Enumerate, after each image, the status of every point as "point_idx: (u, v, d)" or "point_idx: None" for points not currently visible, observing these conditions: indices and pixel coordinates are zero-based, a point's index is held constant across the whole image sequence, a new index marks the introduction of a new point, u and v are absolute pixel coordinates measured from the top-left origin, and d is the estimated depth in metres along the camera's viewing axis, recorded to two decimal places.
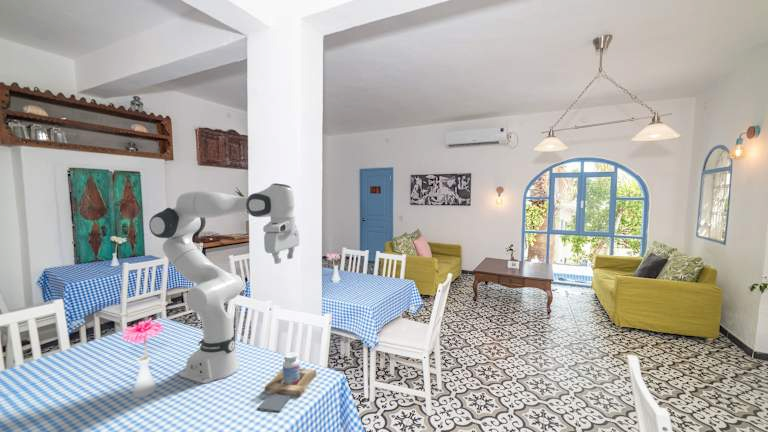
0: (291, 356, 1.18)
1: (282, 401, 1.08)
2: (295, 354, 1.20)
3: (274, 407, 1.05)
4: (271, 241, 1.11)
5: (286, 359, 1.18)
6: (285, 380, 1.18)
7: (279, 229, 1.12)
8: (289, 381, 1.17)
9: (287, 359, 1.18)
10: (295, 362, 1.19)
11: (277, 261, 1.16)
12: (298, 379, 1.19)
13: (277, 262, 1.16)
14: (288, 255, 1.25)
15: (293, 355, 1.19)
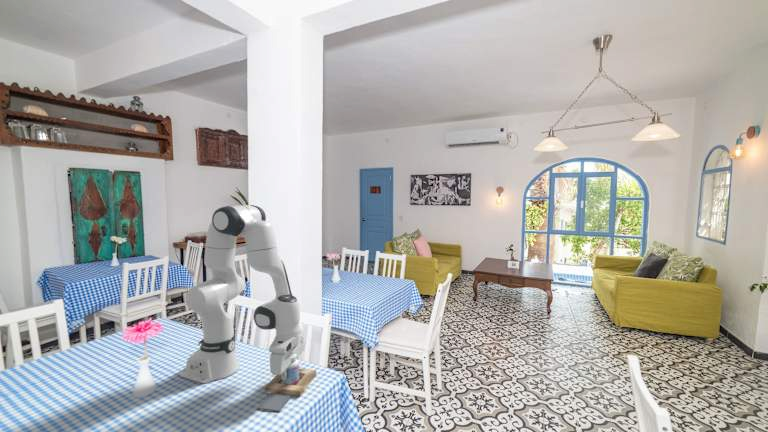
0: None
1: (282, 401, 1.08)
2: (294, 355, 1.19)
3: (274, 407, 1.05)
4: (277, 363, 1.09)
5: None
6: (284, 381, 1.17)
7: (285, 350, 1.11)
8: (288, 381, 1.17)
9: None
10: (294, 363, 1.18)
11: (285, 378, 1.15)
12: (297, 380, 1.19)
13: (284, 378, 1.15)
14: None
15: None
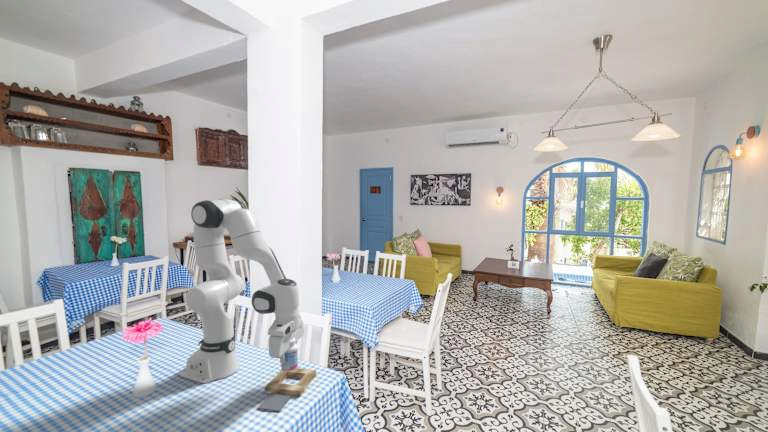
0: None
1: (282, 401, 1.08)
2: (293, 339, 1.19)
3: (274, 407, 1.05)
4: (275, 346, 1.09)
5: None
6: (283, 365, 1.17)
7: (284, 333, 1.10)
8: (287, 365, 1.16)
9: None
10: (293, 347, 1.18)
11: (283, 361, 1.15)
12: (296, 364, 1.19)
13: (283, 362, 1.15)
14: None
15: None
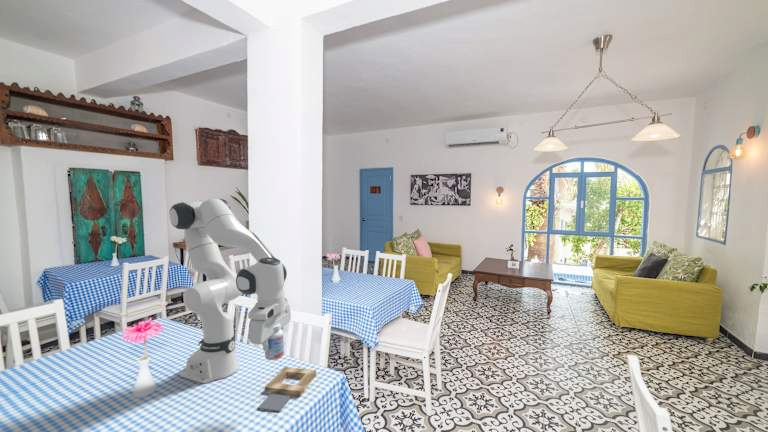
0: None
1: (282, 401, 1.08)
2: (278, 324, 1.07)
3: (274, 407, 1.05)
4: (256, 331, 0.97)
5: None
6: (267, 352, 1.05)
7: (266, 316, 0.98)
8: (271, 353, 1.04)
9: None
10: (278, 333, 1.06)
11: (266, 349, 1.03)
12: (282, 352, 1.07)
13: (266, 349, 1.03)
14: None
15: (276, 325, 1.06)
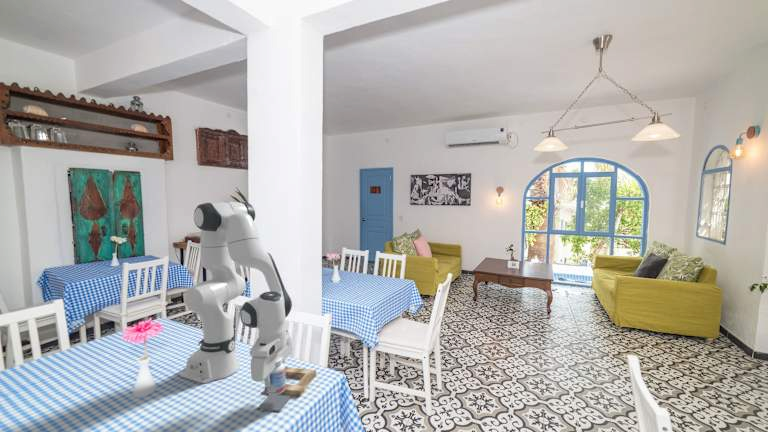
0: None
1: (282, 401, 1.08)
2: (280, 358, 1.08)
3: (274, 407, 1.05)
4: (258, 368, 0.98)
5: None
6: (269, 387, 1.05)
7: (268, 354, 0.99)
8: (273, 388, 1.05)
9: None
10: (280, 367, 1.06)
11: (268, 384, 1.03)
12: (283, 386, 1.07)
13: (268, 385, 1.04)
14: None
15: None
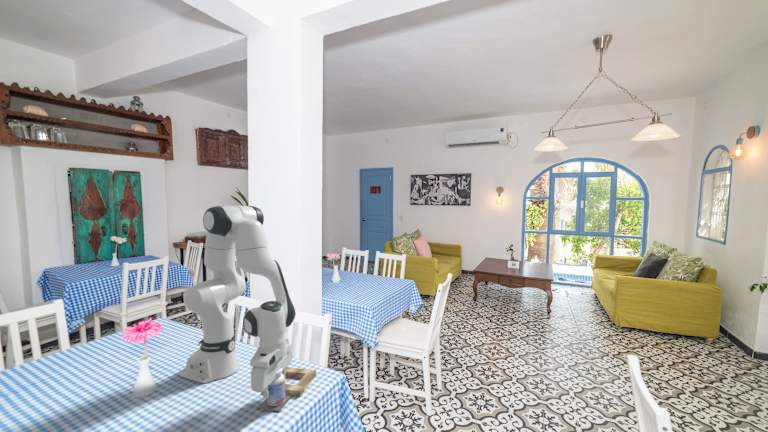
0: None
1: None
2: (280, 369, 1.08)
3: (274, 407, 1.05)
4: (258, 379, 0.98)
5: None
6: (268, 398, 1.06)
7: (268, 364, 0.99)
8: (272, 399, 1.05)
9: None
10: (280, 378, 1.07)
11: (266, 396, 1.03)
12: (283, 397, 1.08)
13: (266, 396, 1.03)
14: None
15: None
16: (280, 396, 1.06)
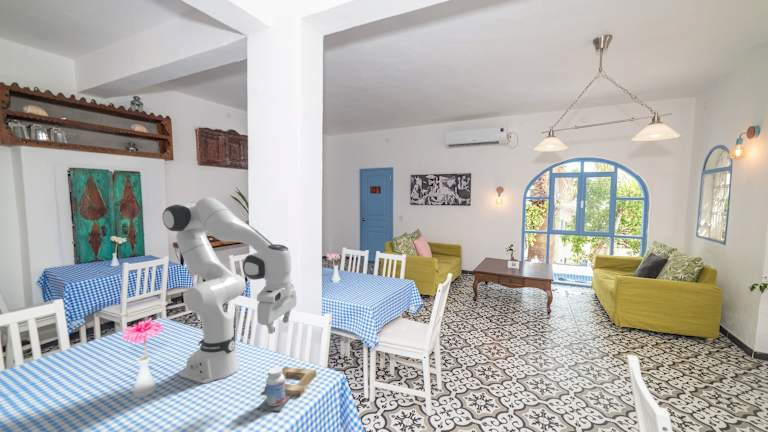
0: (275, 372, 1.06)
1: None
2: (280, 369, 1.08)
3: (274, 407, 1.05)
4: (264, 312, 1.03)
5: (269, 375, 1.06)
6: (268, 398, 1.06)
7: (274, 299, 1.04)
8: (272, 399, 1.05)
9: (271, 375, 1.06)
10: (280, 378, 1.07)
11: (271, 331, 1.08)
12: (283, 397, 1.08)
13: (271, 332, 1.08)
14: (284, 318, 1.17)
15: (277, 370, 1.07)
16: (280, 396, 1.06)
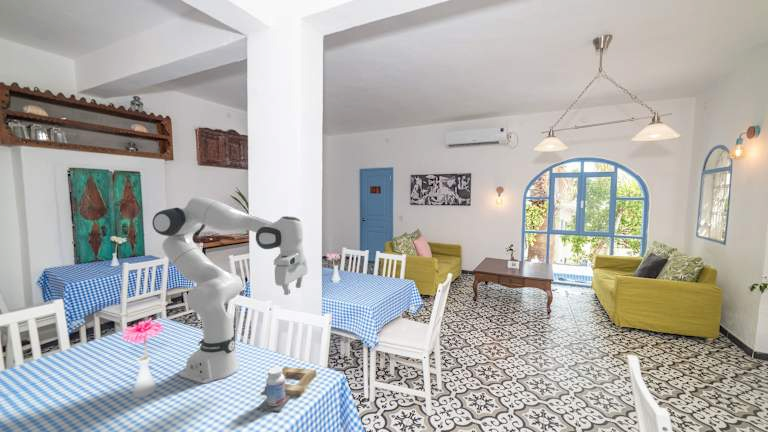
0: (275, 372, 1.06)
1: None
2: (280, 369, 1.08)
3: (274, 407, 1.05)
4: (281, 274, 1.16)
5: (269, 375, 1.06)
6: (268, 398, 1.06)
7: (289, 262, 1.17)
8: (272, 399, 1.05)
9: (271, 375, 1.06)
10: (280, 378, 1.07)
11: (287, 293, 1.20)
12: (283, 397, 1.08)
13: (287, 293, 1.20)
14: (296, 284, 1.30)
15: (277, 370, 1.07)
16: (280, 396, 1.06)
